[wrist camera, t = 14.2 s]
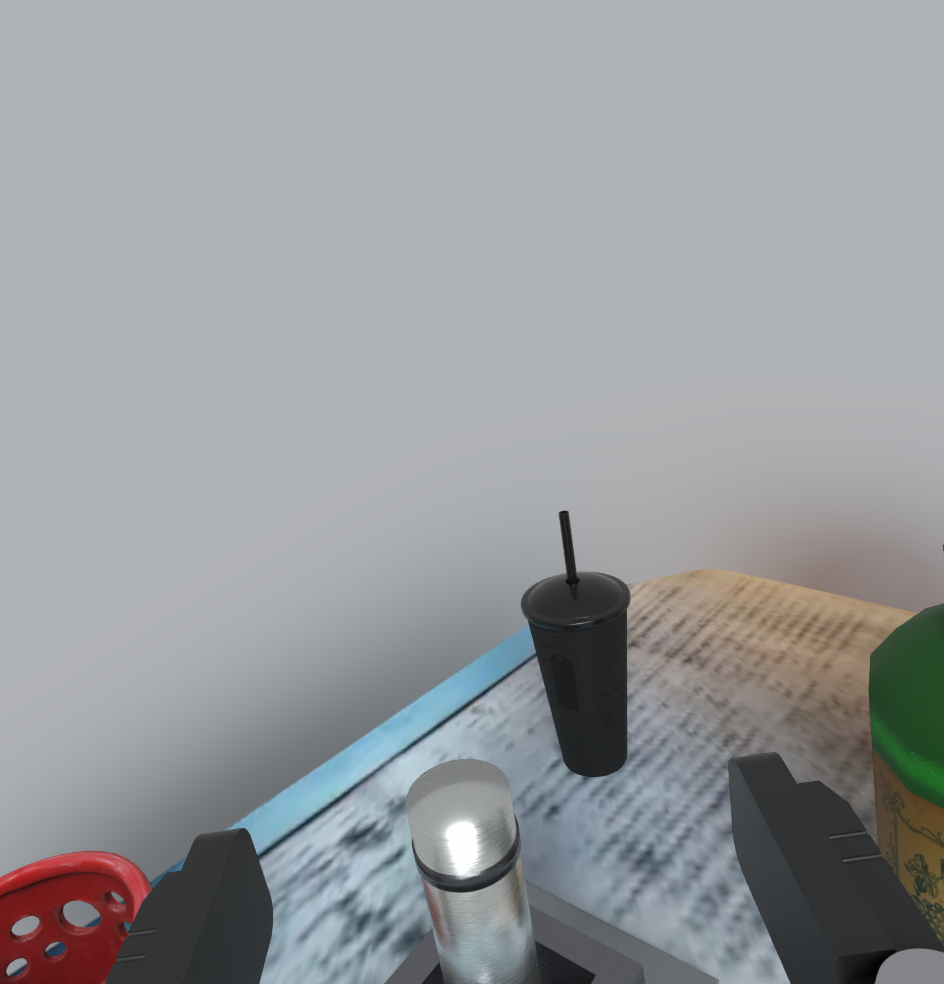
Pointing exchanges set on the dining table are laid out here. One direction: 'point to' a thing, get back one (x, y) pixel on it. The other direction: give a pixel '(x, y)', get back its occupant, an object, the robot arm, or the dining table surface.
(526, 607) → the drinking cup
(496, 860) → the steel tube
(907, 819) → the bottle
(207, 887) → the robot arm
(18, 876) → the plant pot
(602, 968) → the collar
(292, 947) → the dining table surface
